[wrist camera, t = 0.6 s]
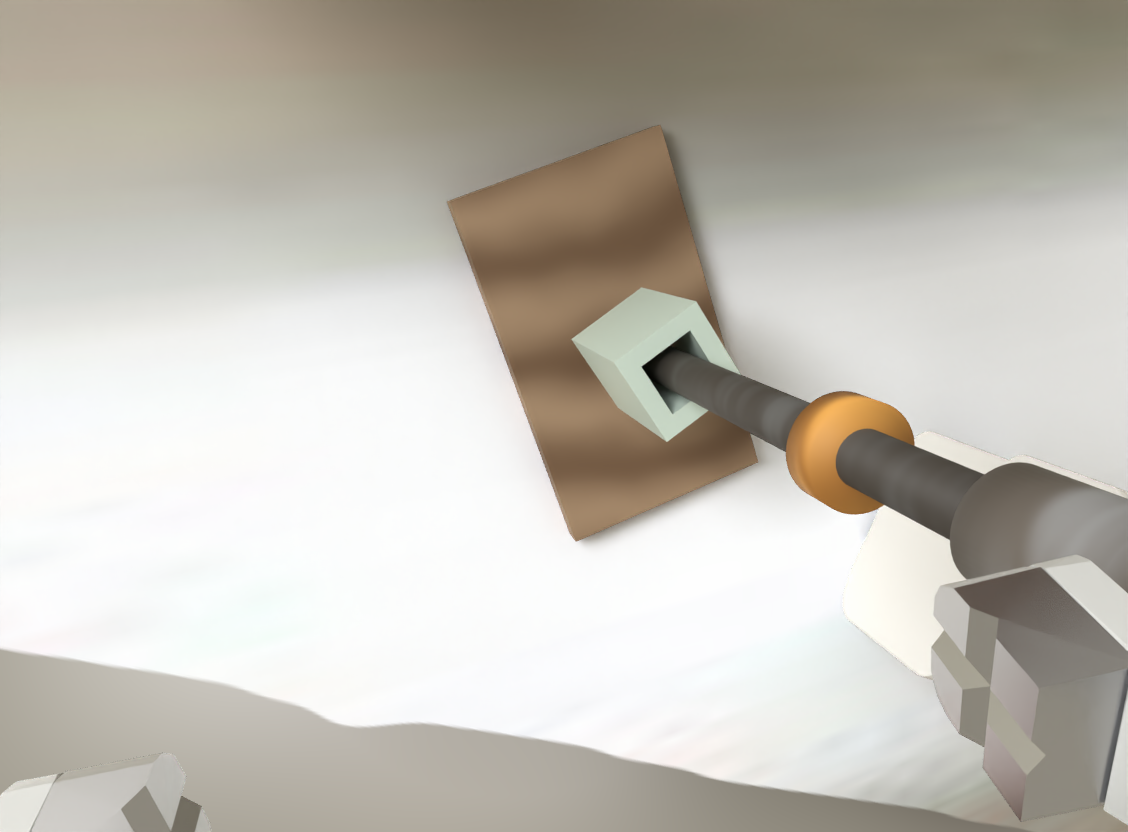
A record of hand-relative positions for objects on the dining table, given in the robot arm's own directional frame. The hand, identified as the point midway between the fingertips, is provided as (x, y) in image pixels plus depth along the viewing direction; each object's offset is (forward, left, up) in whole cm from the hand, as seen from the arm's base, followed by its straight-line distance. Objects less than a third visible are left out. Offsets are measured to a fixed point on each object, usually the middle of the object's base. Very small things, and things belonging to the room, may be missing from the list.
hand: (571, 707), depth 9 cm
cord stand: (+7, +12, -44) cm, 46 cm away
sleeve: (+7, +12, -40) cm, 43 cm away
